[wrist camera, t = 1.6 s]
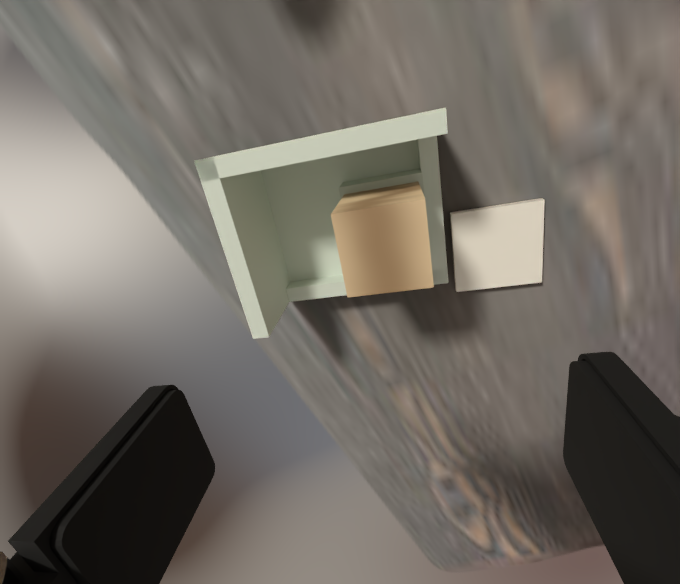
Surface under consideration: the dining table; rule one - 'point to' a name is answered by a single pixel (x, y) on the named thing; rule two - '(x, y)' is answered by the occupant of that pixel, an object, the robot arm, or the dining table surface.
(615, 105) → the dining table surface
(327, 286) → the pale grey angled piece
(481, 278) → the cream tile
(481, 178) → the dining table surface
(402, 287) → the oak block
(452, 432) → the dining table surface
